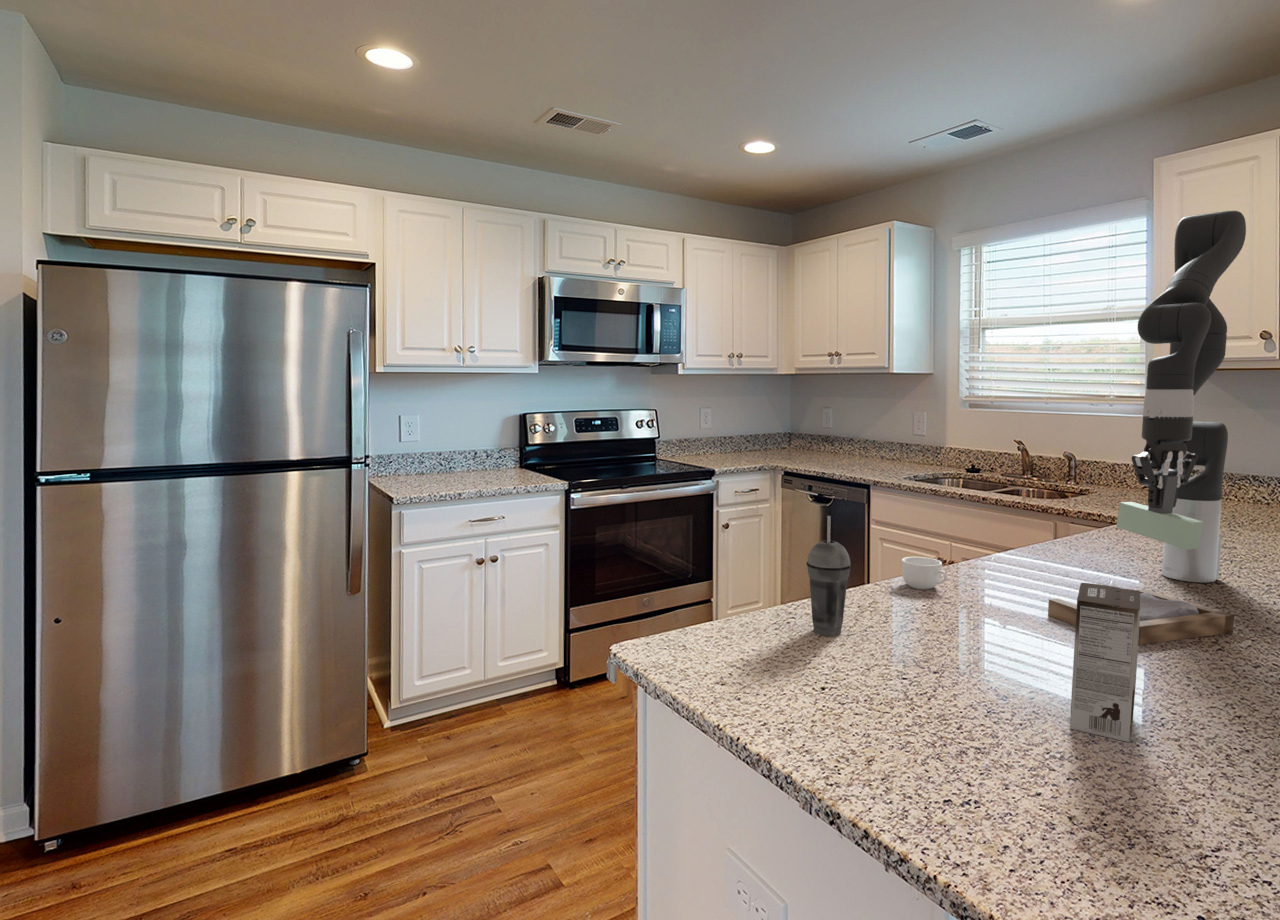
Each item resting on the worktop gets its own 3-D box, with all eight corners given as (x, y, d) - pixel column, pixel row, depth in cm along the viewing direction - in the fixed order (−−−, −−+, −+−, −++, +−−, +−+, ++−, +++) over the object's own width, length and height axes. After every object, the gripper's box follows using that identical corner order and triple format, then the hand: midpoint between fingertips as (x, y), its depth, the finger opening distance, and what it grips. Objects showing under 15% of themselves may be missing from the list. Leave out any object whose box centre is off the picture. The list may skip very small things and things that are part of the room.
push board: (1116, 527, 143) (1125, 467, 140) (1128, 526, 144) (1137, 466, 141) (1185, 549, 130) (1197, 484, 127) (1198, 548, 130) (1210, 483, 128)
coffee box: (1073, 702, 95) (1080, 581, 93) (1133, 714, 91) (1141, 588, 90) (1067, 729, 87) (1074, 598, 86) (1132, 744, 84) (1141, 607, 82)
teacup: (892, 584, 151) (893, 559, 151) (918, 579, 155) (919, 555, 154) (932, 596, 143) (933, 569, 142) (958, 591, 146) (959, 564, 146)
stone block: (1163, 644, 121) (1206, 626, 124) (1160, 617, 121) (1203, 600, 123) (1099, 625, 132) (1139, 609, 135) (1095, 600, 132) (1136, 584, 135)
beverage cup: (850, 627, 125) (853, 512, 123) (848, 641, 118) (851, 519, 116) (807, 622, 127) (809, 509, 125) (802, 636, 120) (804, 517, 118)
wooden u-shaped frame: (1142, 604, 136) (1143, 589, 136) (1232, 632, 121) (1234, 614, 121) (1047, 615, 130) (1048, 599, 130) (1130, 646, 115) (1131, 627, 115)
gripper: (1176, 413, 139) (1170, 502, 141) (1119, 414, 135) (1114, 506, 137) (1217, 414, 132) (1210, 508, 134) (1158, 415, 128) (1151, 512, 130)
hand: (1161, 506), depth 135 cm, fingers closed on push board, 2 cm apart
